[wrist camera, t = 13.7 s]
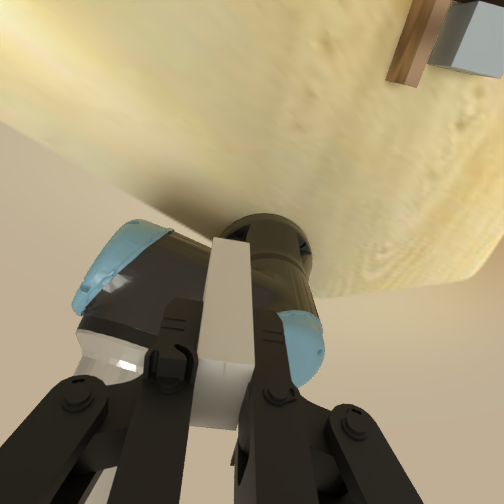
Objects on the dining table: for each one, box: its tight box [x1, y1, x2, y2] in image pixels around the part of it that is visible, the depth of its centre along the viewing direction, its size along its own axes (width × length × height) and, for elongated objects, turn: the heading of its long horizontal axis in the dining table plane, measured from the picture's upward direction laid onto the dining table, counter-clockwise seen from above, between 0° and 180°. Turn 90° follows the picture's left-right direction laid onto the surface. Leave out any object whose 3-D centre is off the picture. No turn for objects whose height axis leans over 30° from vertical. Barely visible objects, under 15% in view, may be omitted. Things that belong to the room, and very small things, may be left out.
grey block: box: [427, 1, 504, 79], centre depth 41 cm, size 6×6×6 cm
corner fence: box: [386, 0, 504, 88], centre depth 41 cm, size 11×13×6 cm
